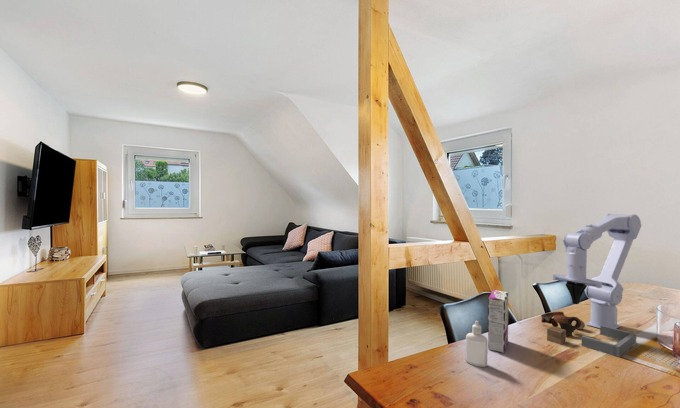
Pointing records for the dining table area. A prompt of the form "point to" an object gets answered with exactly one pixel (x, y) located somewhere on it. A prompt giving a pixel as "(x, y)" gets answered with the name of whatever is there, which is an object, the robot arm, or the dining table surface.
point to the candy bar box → (498, 321)
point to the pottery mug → (561, 321)
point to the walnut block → (556, 335)
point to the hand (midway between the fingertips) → (575, 303)
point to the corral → (615, 350)
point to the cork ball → (581, 324)
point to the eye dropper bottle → (476, 347)
